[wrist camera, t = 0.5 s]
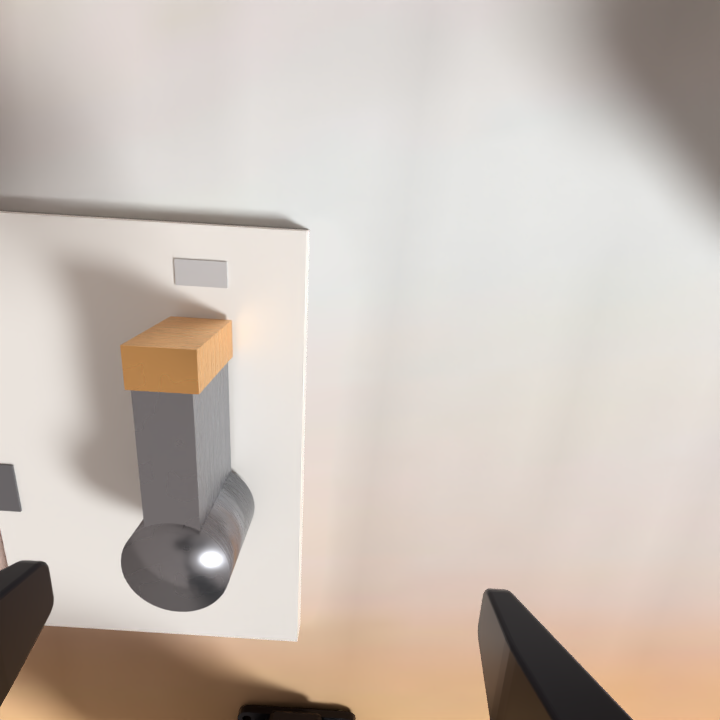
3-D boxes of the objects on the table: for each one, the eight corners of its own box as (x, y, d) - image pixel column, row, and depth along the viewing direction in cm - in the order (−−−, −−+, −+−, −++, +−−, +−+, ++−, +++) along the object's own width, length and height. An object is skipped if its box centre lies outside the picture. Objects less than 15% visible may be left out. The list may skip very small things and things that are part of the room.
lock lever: (255, 544, 22) (231, 615, 18) (167, 538, 22) (126, 608, 18) (252, 321, 19) (222, 351, 15) (150, 314, 19) (94, 343, 15)
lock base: (300, 625, 25) (296, 643, 24) (33, 608, 25) (18, 625, 24) (309, 229, 19) (306, 231, 18) (-45, 208, 19) (-69, 208, 18)
